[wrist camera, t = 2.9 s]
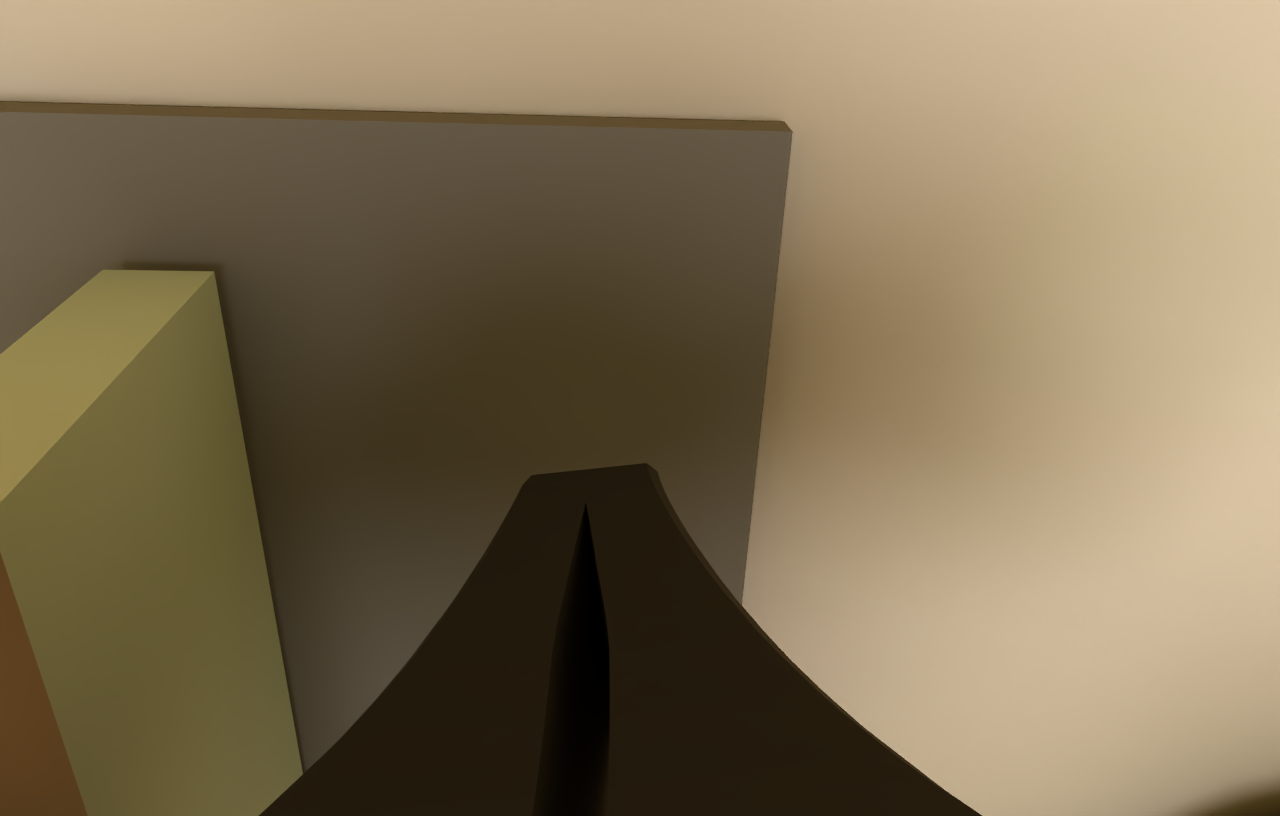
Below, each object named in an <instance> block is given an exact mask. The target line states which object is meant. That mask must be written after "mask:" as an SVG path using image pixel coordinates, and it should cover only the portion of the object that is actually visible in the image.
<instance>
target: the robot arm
mask: <svg viewBox="0 0 1280 816" xmlns="http://www.w3.org/2000/svg"><path fill="white" fill-rule="evenodd" d="M259 816H982V815H980V814H979V813H977V812H976V811H974V810H973V809H972V808H970V807H969V806H967V805H966V804H964V803H963V802H961V801H960V800H958V799H957V798H955V797H954V796H952V795H951V794H949V793H948V792H947V791H945V790H944V789H943V788H941V787H940V786H939V785H937V784H936V783H935V782H934V781H932V780H931V779H930V778H928V777H927V776H926V775H925V774H923V773H922V772H921V771H919V770H918V769H917V768H915V767H914V766H913V765H912V764H910V763H909V762H908V761H906V760H905V759H904V758H903V757H901V756H900V755H899V754H897V753H896V752H895V751H893V750H892V749H891V748H890V747H888V746H887V745H886V744H884V743H883V742H882V741H881V740H879V739H878V738H877V737H875V736H874V735H873V734H872V733H870V732H869V731H868V730H866V729H865V728H864V727H863V726H862V725H860V724H859V723H858V722H857V721H856V720H855V719H853V718H852V717H851V716H850V715H849V714H848V713H847V712H846V711H844V710H843V709H842V708H841V707H840V706H839V705H838V704H837V703H836V702H834V701H833V700H832V699H831V698H830V697H829V696H828V695H827V694H825V693H824V692H823V691H822V690H821V689H820V688H819V687H818V686H817V685H816V684H815V683H814V682H813V681H812V680H811V679H810V678H809V677H808V676H807V675H806V674H805V673H803V672H802V671H801V670H800V669H799V668H798V667H797V666H796V665H795V664H794V663H793V662H792V661H791V660H790V659H789V658H788V657H787V656H786V655H785V654H784V652H783V651H782V650H781V649H780V648H779V647H778V646H777V645H776V644H775V643H774V642H773V641H772V640H771V639H770V638H769V636H768V635H767V634H766V633H765V632H764V631H763V630H762V629H761V628H760V626H759V625H758V624H757V623H756V622H755V621H754V619H753V618H752V617H751V616H750V615H749V613H748V612H747V611H746V610H745V609H744V608H743V606H742V605H741V604H740V603H739V602H738V601H737V599H736V598H735V597H734V596H733V594H732V593H731V592H730V590H729V589H728V588H727V587H726V585H725V584H724V583H723V582H722V580H721V579H720V578H719V576H718V575H717V573H716V572H715V571H714V569H713V568H712V566H711V565H710V564H709V562H708V561H707V560H706V558H705V557H704V555H703V554H702V553H701V551H700V550H699V548H698V547H697V546H696V544H695V543H694V541H693V540H692V538H691V536H690V535H689V533H688V532H687V530H686V529H685V527H684V525H683V524H682V522H681V520H680V519H679V517H678V515H677V514H676V512H675V510H674V508H673V506H672V505H671V503H670V501H669V499H668V497H667V495H666V493H665V491H664V488H663V486H662V483H661V481H660V478H659V474H658V471H656V470H655V469H654V468H652V467H651V466H650V465H649V464H647V463H642V464H632V465H622V466H613V467H603V468H594V469H584V470H574V471H565V472H555V473H546V474H536V475H531V476H530V477H529V478H528V479H527V481H526V482H525V483H524V484H523V485H522V487H521V489H520V491H519V493H518V495H517V497H516V499H515V500H514V502H513V504H512V506H511V508H510V510H509V512H508V513H507V515H506V517H505V519H504V521H503V522H502V524H501V526H500V528H499V529H498V531H497V533H496V534H495V536H494V538H493V539H492V541H491V543H490V544H489V546H488V548H487V549H486V551H485V553H484V554H483V556H482V557H481V559H480V560H479V562H478V563H477V565H476V567H475V568H474V570H473V571H472V573H471V574H470V576H469V577H468V579H467V580H466V582H465V583H464V585H463V586H462V588H461V590H460V591H459V593H458V594H457V596H456V597H455V598H454V600H453V601H452V603H451V604H450V606H449V607H448V608H447V610H446V611H445V612H444V614H443V615H442V616H441V618H440V619H439V620H438V622H437V623H436V624H435V626H434V627H433V628H432V630H431V631H430V632H429V634H428V635H427V636H426V638H425V639H424V640H423V642H422V643H421V644H420V646H419V647H418V648H417V650H416V651H415V652H414V654H413V655H412V656H411V658H410V659H409V660H408V662H407V663H406V664H405V665H404V666H403V668H402V669H401V670H400V671H399V673H398V674H397V675H396V676H395V677H394V679H393V680H392V681H391V682H390V683H389V685H388V686H387V687H386V688H385V689H384V690H383V692H382V693H381V694H380V695H379V696H378V697H377V698H376V700H375V701H374V702H373V703H372V704H371V705H370V706H369V707H368V708H367V710H366V711H365V712H364V713H363V714H362V715H361V716H360V717H359V718H358V719H357V721H356V722H355V723H354V724H353V725H352V726H351V727H350V728H349V729H348V730H347V731H346V733H345V734H344V735H343V736H342V737H341V738H340V739H339V740H338V741H337V742H336V743H335V744H334V745H333V746H332V747H331V748H330V749H329V750H328V751H327V752H326V753H325V754H324V755H323V756H322V757H321V758H320V759H319V760H317V761H316V762H315V763H314V764H313V765H312V766H311V767H310V768H309V769H308V770H307V771H306V772H305V773H304V774H303V775H301V776H300V777H299V778H298V779H297V780H296V781H295V782H294V783H293V784H292V785H291V786H290V787H289V788H288V789H287V790H286V791H284V792H283V793H282V794H281V795H280V796H279V797H278V798H277V799H276V800H275V801H274V802H273V803H272V804H271V805H270V806H268V807H267V808H266V809H265V810H264V811H263V812H262V813H261V814H260V815H259Z"/></svg>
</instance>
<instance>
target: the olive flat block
mask: <svg viewBox="0 0 1280 816" xmlns="http://www.w3.org/2000/svg"><path fill="white" fill-rule="evenodd" d="M301 775H303V772H302V766H301V760H300V755H299V749H298V743H297V738H296V732H295V726H294V721H293V715H292V709H291V704H290V698H289V692H288V687H287V681H286V675H285V670H284V664H283V658H282V653H281V647H280V641H279V636H278V630H277V624H276V619H275V613H274V607H273V602H272V596H271V590H270V585H269V579H268V573H267V568H266V562H265V556H264V551H263V545H262V539H261V534H260V528H259V522H258V517H257V511H256V506H255V500H254V494H253V489H252V483H251V477H250V472H249V466H248V460H247V455H246V449H245V443H244V438H243V432H242V426H241V421H240V415H239V409H238V404H237V398H236V392H235V387H234V381H233V375H232V370H231V364H230V358H229V353H228V347H227V341H226V336H225V330H224V324H223V319H222V313H221V307H220V302H219V296H218V290H217V285H216V279H215V273H214V271H156V270H102V271H101V272H99V273H98V274H97V275H96V276H94V277H93V278H92V279H91V280H90V281H88V282H87V283H86V284H85V285H84V286H82V287H81V288H80V289H79V290H78V291H76V292H75V293H74V294H73V295H72V296H70V297H69V298H68V299H67V300H65V301H64V302H63V303H62V304H61V305H59V306H58V307H57V308H56V309H55V310H53V311H52V312H51V313H50V314H49V315H47V316H46V317H45V318H44V319H43V320H41V321H40V322H39V323H38V324H36V325H35V326H34V327H33V328H32V329H30V330H29V331H28V332H27V333H26V334H24V335H23V336H22V337H21V338H20V339H18V340H17V341H16V342H15V343H13V344H12V345H11V346H10V347H9V348H7V349H6V350H5V351H4V352H3V353H1V354H0V816H259V815H260V814H261V813H262V812H263V811H264V810H265V809H266V808H267V807H268V806H270V805H271V804H272V803H273V802H274V801H275V800H276V799H277V798H278V797H279V796H280V795H281V794H282V793H283V792H284V791H286V790H287V789H288V788H289V787H290V786H291V785H292V784H293V783H294V782H295V781H296V780H297V779H298V778H299V777H300V776H301Z"/></svg>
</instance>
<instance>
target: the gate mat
mask: <svg viewBox="0 0 1280 816" xmlns="http://www.w3.org/2000/svg"><path fill="white" fill-rule="evenodd" d="M791 141H792V131H791V129H790V128H789V127H788V126H787V124H786V123H785V122H770V121H732V120H693V119H654V118H615V117H577V116H538V115H499V114H461V113H422V112H383V111H345V110H306V109H267V108H228V107H190V106H151V105H112V104H74V103H35V102H0V354H1V353H3V352H4V351H5V350H6V349H7V348H9V347H10V346H11V345H12V344H13V343H15V342H16V341H17V340H18V339H20V338H21V337H22V336H23V335H24V334H26V333H27V332H28V331H29V330H30V329H32V328H33V327H34V326H35V325H36V324H38V323H39V322H40V321H41V320H43V319H44V318H45V317H46V316H47V315H49V314H50V313H51V312H52V311H53V310H55V309H56V308H57V307H58V306H59V305H61V304H62V303H63V302H64V301H65V300H67V299H68V298H69V297H70V296H72V295H73V294H74V293H75V292H76V291H78V290H79V289H80V288H81V287H82V286H84V285H85V284H86V283H87V282H88V281H90V280H91V279H92V278H93V277H94V276H96V275H97V274H98V273H99V272H101V271H102V270H156V271H214V273H215V279H216V285H217V290H218V296H219V302H220V307H221V313H222V319H223V324H224V330H225V336H226V341H227V347H228V353H229V358H230V364H231V370H232V375H233V381H234V387H235V392H236V398H237V404H238V409H239V415H240V421H241V426H242V432H243V438H244V443H245V449H246V455H247V460H248V466H249V472H250V477H251V483H252V489H253V494H254V500H255V506H256V511H257V517H258V522H259V528H260V534H261V539H262V545H263V551H264V556H265V562H266V568H267V573H268V579H269V585H270V590H271V596H272V602H273V607H274V613H275V619H276V624H277V630H278V636H279V641H280V647H281V653H282V658H283V664H284V670H285V675H286V681H287V687H288V692H289V698H290V704H291V709H292V715H293V721H294V726H295V732H296V738H297V743H298V749H299V755H300V760H301V766H302V772H303V774H304V773H305V772H306V771H307V770H308V769H309V768H310V767H311V766H312V765H313V764H314V763H315V762H316V761H317V760H319V759H320V758H321V757H322V756H323V755H324V754H325V753H326V752H327V751H328V750H329V749H330V748H331V747H332V746H333V745H334V744H335V743H336V742H337V741H338V740H339V739H340V738H341V737H342V736H343V735H344V734H345V733H346V731H347V730H348V729H349V728H350V727H351V726H352V725H353V724H354V723H355V722H356V721H357V719H358V718H359V717H360V716H361V715H362V714H363V713H364V712H365V711H366V710H367V708H368V707H369V706H370V705H371V704H372V703H373V702H374V701H375V700H376V698H377V697H378V696H379V695H380V694H381V693H382V692H383V690H384V689H385V688H386V687H387V686H388V685H389V683H390V682H391V681H392V680H393V679H394V677H395V676H396V675H397V674H398V673H399V671H400V670H401V669H402V668H403V666H404V665H405V664H406V663H407V662H408V660H409V659H410V658H411V656H412V655H413V654H414V652H415V651H416V650H417V648H418V647H419V646H420V644H421V643H422V642H423V640H424V639H425V638H426V636H427V635H428V634H429V632H430V631H431V630H432V628H433V627H434V626H435V624H436V623H437V622H438V620H439V619H440V618H441V616H442V615H443V614H444V612H445V611H446V610H447V608H448V607H449V606H450V604H451V603H452V601H453V600H454V598H455V597H456V596H457V594H458V593H459V591H460V590H461V588H462V586H463V585H464V583H465V582H466V580H467V579H468V577H469V576H470V574H471V573H472V571H473V570H474V568H475V567H476V565H477V563H478V562H479V560H480V559H481V557H482V556H483V554H484V553H485V551H486V549H487V548H488V546H489V544H490V543H491V541H492V539H493V538H494V536H495V534H496V533H497V531H498V529H499V528H500V526H501V524H502V522H503V521H504V519H505V517H506V515H507V513H508V512H509V510H510V508H511V506H512V504H513V502H514V500H515V499H516V497H517V495H518V493H519V491H520V489H521V487H522V485H523V484H524V483H525V482H526V481H527V479H528V478H529V477H530V476H531V475H536V474H546V473H555V472H565V471H574V470H584V469H594V468H603V467H613V466H622V465H632V464H642V463H647V464H649V465H650V466H651V467H652V468H654V469H655V470H656V471H658V474H659V478H660V481H661V483H662V486H663V488H664V491H665V493H666V495H667V497H668V499H669V501H670V503H671V505H672V506H673V508H674V510H675V512H676V514H677V515H678V517H679V519H680V520H681V522H682V524H683V525H684V527H685V529H686V530H687V532H688V533H689V535H690V536H691V538H692V540H693V541H694V543H695V544H696V546H697V547H698V548H699V550H700V551H701V553H702V554H703V555H704V557H705V558H706V560H707V561H708V562H709V564H710V565H711V566H712V568H713V569H714V571H715V572H716V573H717V575H718V576H719V578H720V579H721V580H722V582H723V583H724V584H725V585H726V587H727V588H728V589H729V590H730V592H731V593H732V594H733V596H734V597H735V598H736V599H737V601H738V602H739V603H740V604H741V605H742V596H743V587H744V578H745V568H746V559H747V550H748V541H749V531H750V522H751V513H752V503H753V494H754V485H755V475H756V466H757V457H758V448H759V438H760V429H761V420H762V410H763V401H764V392H765V382H766V373H767V364H768V355H769V345H770V336H771V327H772V317H773V308H774V299H775V289H776V280H777V271H778V262H779V252H780V243H781V234H782V224H783V215H784V206H785V196H786V187H787V178H788V169H789V159H790V150H791Z"/></svg>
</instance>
